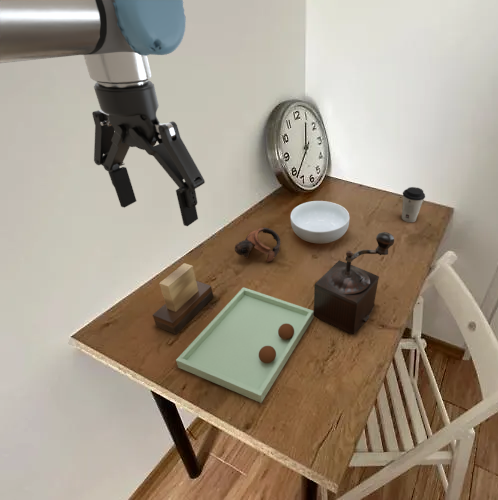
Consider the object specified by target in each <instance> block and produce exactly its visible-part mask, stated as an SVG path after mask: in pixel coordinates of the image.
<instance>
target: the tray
mask: <svg viewBox="0 0 498 500" xmlns="http://www.w3.org/2000/svg"><path fill="white" fill-rule="evenodd" d="M313 313H314V309H309V308H307V307H305V306H301V305H298V304H295V303H292V302H289V301H286V300H283V299H280V298H277V297H275V296H272V295H271V296H270V295H268V294H265V293H263V292H259V291H256V290H253V289H250V288H247V287H244V286H243V287H242V288H241V289H240V290H239V291H238V292H237V293H236V295H234V296H233V297H232V299H231V300H230V301H229V302H228V303H227V304H226V305H225V306H224V307H223V308H222V310H220V312H219V313H218V314H217V315H216V316H215V317H214V318H213V319H212V320H211V321H210V322H209V324H207V325H206V327H205V328H204V329H203V330H202V331H201V332H200V333H199V334H198V335H197V336H196V338H195V339H194V340H193V341H192V342H191V343H190V344H189V345H188V346H187V348H185V349H184V350H183V352H182V353H180V355H178V357H177V358H176V359H175V361H176V365H177V368H178V369H181V370H183V371H185V372H188V373H190V374H193V375H194V376H197V377H199V378H201V379H204V380H206V381H208V382H212V383H214V384H216V385H217V386H220V387H223V388H226V389H228V390H230V391H232V392H234V393H237V394H239V395H242V396H244V397H247V398H249V399H251V400H253V401H256V402H258V403H260V404H262V403H263V401H264V400H265V398H266V396H267V395H268V393H269V392H270V389H271V388H272V386H273V385H274V383H275V382H276V380H277V379H278V377H279V375H280V373H281V372H282V370H283V368H284V367H285V365H286V364H287V362H288V360H289V359H290V357H291V355H292V354H293V352H294V350H295V349H296V347H297V345H298V344H299V342H300V341H301V339H302V338H303V336H304V334H305V333H306V331H307V329H308V328H309V326H310V324H311V323H312V321H313V319H314V315H313ZM283 324H290V325H292V326H293V328H294V335H293V337H292V338H290V339H288V340H283V339H281V338H280V336H279V334H278V330H279V327H280V326H281V325H283ZM264 346H271V347H273V348H274V349H275V351H276V357H275V359H274V361H272V362H271V363H263V362H262V361H261V360H260V359H259V351H260V350H261V348H262V347H264Z"/></svg>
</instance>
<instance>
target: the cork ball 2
mask: <svg viewBox="0 0 498 500" xmlns="http://www.w3.org/2000/svg"><path fill="white" fill-rule="evenodd" d="M278 334H279V336H280V338H281V339H283V340H288V339H290V338H292V337H293V335H294V328H293V326H292V325H290V324H283V325H281V326H280V327H279V330H278Z"/></svg>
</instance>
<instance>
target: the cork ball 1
mask: <svg viewBox="0 0 498 500" xmlns="http://www.w3.org/2000/svg"><path fill="white" fill-rule="evenodd" d="M275 357H276V351H275V349H274V348H273V347H271V346H264V347H262V348H261V350H260V351H259V359H260V360H261V361H262V362H263V363H271V362H272V361H274V359H275Z"/></svg>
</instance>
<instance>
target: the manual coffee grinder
mask: <svg viewBox="0 0 498 500" xmlns="http://www.w3.org/2000/svg"><path fill="white" fill-rule="evenodd" d="M375 239H376V242H377V247H376V248H375V249H360V250H358V251H356V252H354V253H353V252H352V251H351V250H347V251H346V253H345V255H346V256H345V259H344V260H345V261H346V262H345V261H343V260H338V261H336V262H335V263H334V264H333V265H332V266H331V268H329V270H328V271H326V272H325V273H324V274H323V275H322V276H321V277H320V278H319V279H318V280H317V281H316V282H315V283H314V285H313V287H314V289H313V290H314V291H313V292H314V293H313V311H314V313H313V317H316V318H317V319H319V320H320V321H322V322H325V323H326V324H328V325H330V326H332V327H334V328H336V329H339V330H340V331H343V332H344V333H346V334H349V335H353V336H354V335H355V334H357V332H358V331H359V329H361V328H362V327H363V325H364V324H366V323H367V322H368V320H369V318H370V315H371V313H372V312H373V310H374V308H375V301H376V295H377V290H378V284H379V278H380V276H379V275H378V274H377V275H376V274H374V273H373V272H370V271H367V270H365V269H363V268H360V267H358V266H356V265H353V264H352V262H353V261H354V260H355V259H357V258H358V257H361V256H362V255H379V256H387V255H389V249H390V248H391V247H392V246H394V244H395V237H394V235H393V234H392V233H390V232H388V231H382V232H379V233H377V235H376V238H375Z"/></svg>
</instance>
